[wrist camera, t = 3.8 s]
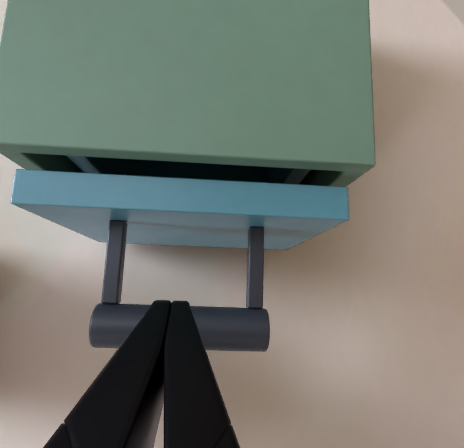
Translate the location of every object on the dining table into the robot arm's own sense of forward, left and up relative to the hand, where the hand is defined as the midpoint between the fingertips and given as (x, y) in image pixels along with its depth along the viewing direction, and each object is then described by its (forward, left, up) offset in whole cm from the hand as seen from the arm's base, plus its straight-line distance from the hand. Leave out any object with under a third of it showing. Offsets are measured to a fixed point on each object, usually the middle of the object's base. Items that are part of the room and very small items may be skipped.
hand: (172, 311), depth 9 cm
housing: (+10, -7, -13) cm, 18 cm away
